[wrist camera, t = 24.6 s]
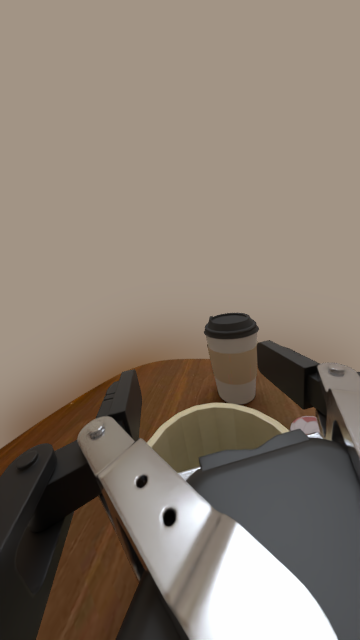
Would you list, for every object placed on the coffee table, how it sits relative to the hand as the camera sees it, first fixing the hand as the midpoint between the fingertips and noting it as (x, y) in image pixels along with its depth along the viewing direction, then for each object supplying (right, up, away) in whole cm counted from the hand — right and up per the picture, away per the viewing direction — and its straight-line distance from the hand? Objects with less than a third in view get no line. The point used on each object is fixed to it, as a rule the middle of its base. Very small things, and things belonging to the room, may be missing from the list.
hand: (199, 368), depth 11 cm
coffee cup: (+9, -11, +22) cm, 26 cm away
